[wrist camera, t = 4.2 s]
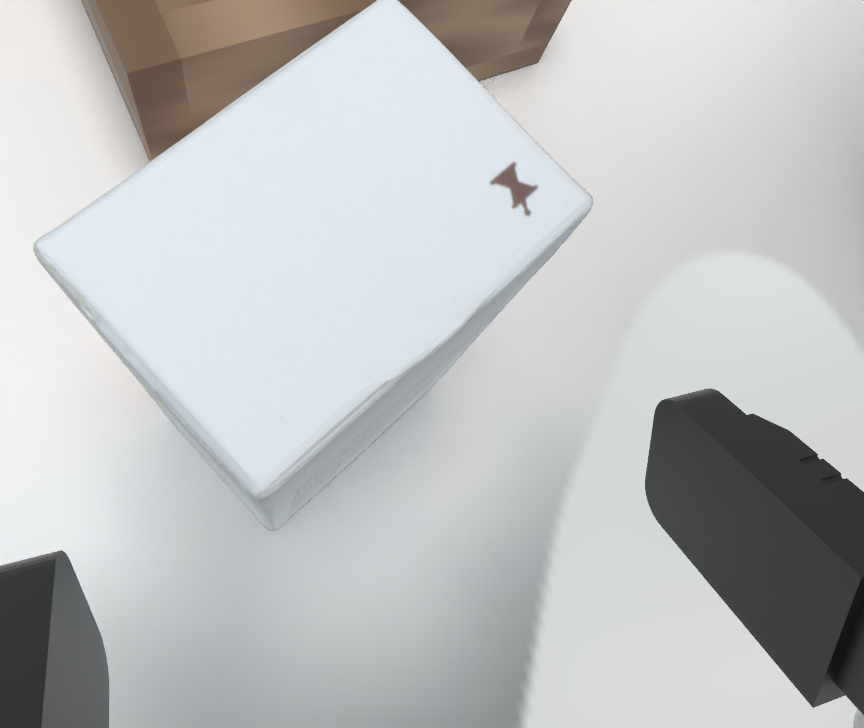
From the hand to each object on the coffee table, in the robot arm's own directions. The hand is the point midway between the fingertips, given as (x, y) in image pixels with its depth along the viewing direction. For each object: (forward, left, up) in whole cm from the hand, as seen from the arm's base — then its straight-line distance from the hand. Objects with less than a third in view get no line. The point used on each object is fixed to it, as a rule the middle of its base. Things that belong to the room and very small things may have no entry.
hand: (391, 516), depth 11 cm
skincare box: (-1, -4, -11) cm, 11 cm away
